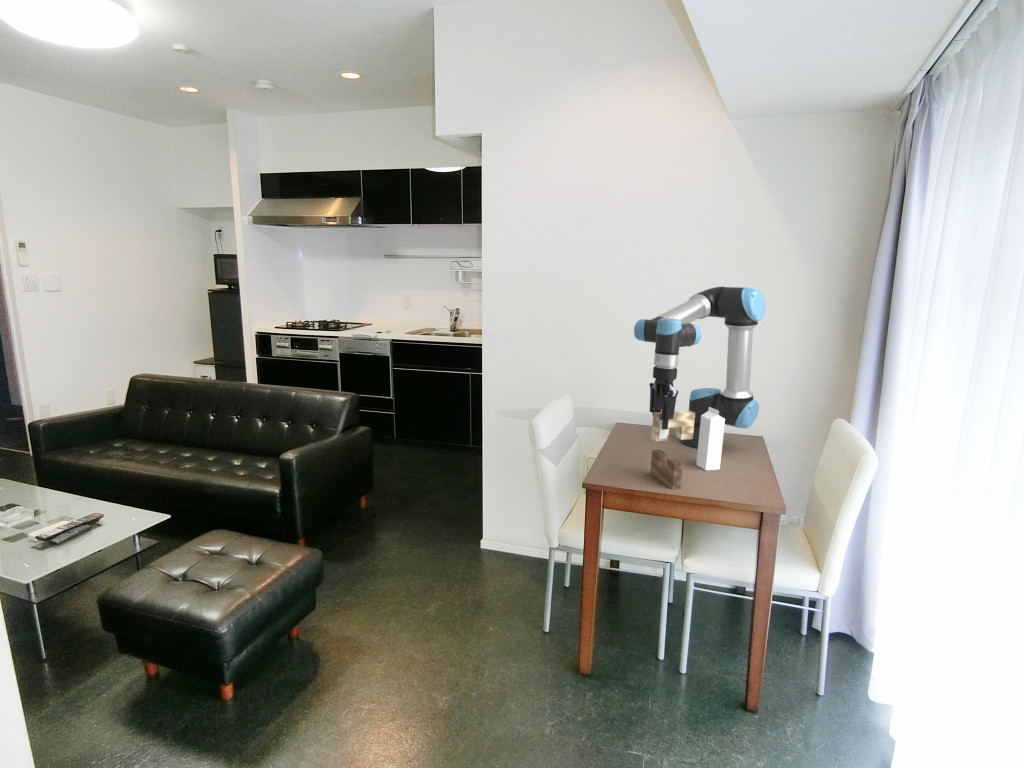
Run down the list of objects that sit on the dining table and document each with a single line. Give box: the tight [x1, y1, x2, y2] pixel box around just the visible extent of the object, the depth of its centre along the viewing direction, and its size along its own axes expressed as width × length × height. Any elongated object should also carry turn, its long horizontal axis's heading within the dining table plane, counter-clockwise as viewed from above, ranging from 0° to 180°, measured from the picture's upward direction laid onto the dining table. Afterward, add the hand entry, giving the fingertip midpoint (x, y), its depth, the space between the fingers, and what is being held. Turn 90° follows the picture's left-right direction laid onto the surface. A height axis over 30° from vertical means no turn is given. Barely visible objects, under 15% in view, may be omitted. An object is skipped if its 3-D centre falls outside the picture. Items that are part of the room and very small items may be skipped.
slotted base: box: [649, 448, 684, 490], centre depth 198 cm, size 3×14×9 cm, turn 18°
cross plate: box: [650, 410, 695, 442], centre depth 195 cm, size 14×3×9 cm, turn 108°
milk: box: [696, 407, 725, 471], centre depth 212 cm, size 6×6×22 cm
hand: (659, 436), depth 194 cm, fingers closed on cross plate, 3 cm apart
